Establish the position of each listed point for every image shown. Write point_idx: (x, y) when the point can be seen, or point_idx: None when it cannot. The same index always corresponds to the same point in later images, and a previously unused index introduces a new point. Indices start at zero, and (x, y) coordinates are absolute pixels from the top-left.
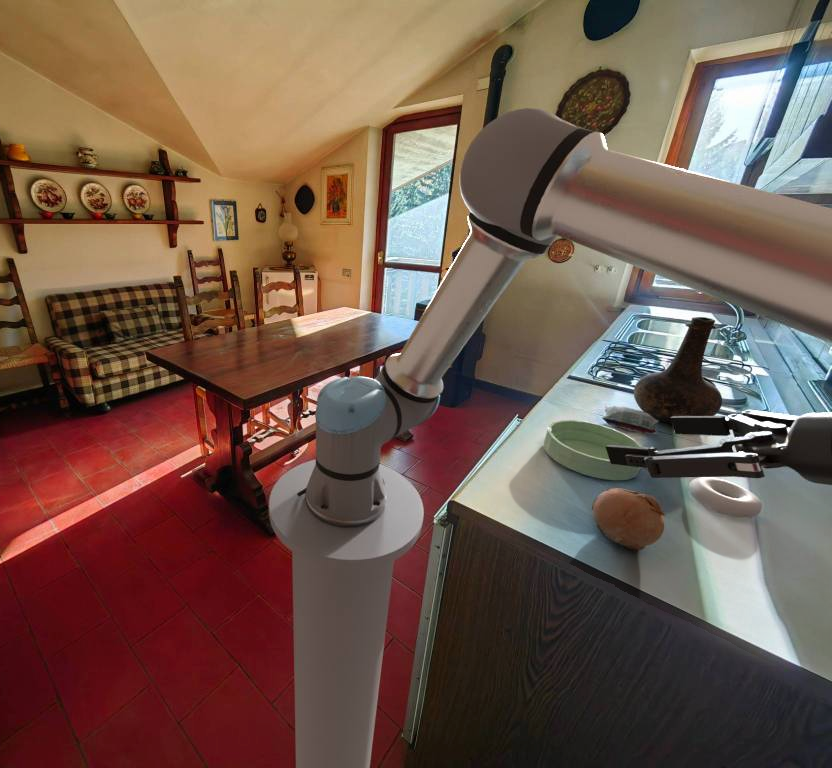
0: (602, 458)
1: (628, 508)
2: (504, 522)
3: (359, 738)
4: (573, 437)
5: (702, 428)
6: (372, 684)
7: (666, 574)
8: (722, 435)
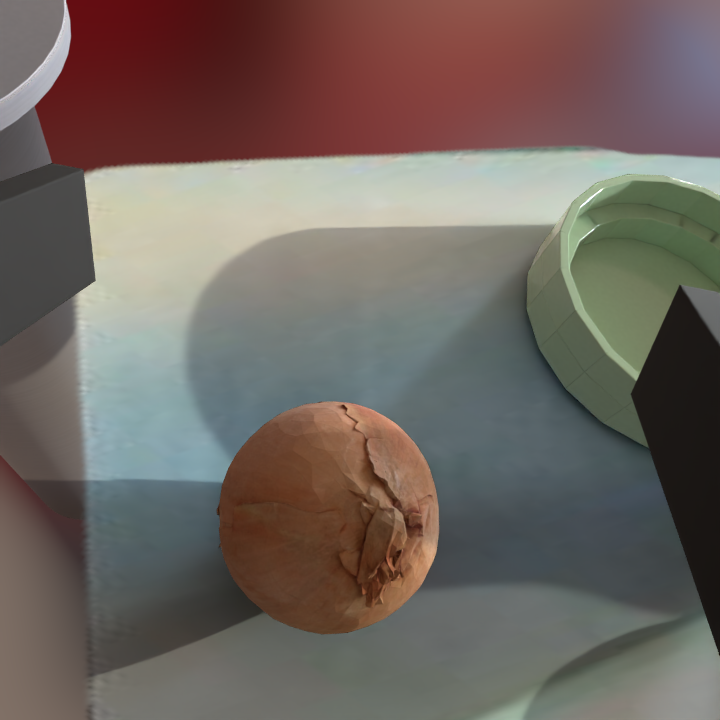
0: None
1: (266, 495)
2: None
3: (22, 454)
4: (700, 261)
5: (696, 472)
6: (7, 406)
7: (249, 708)
8: (712, 624)
